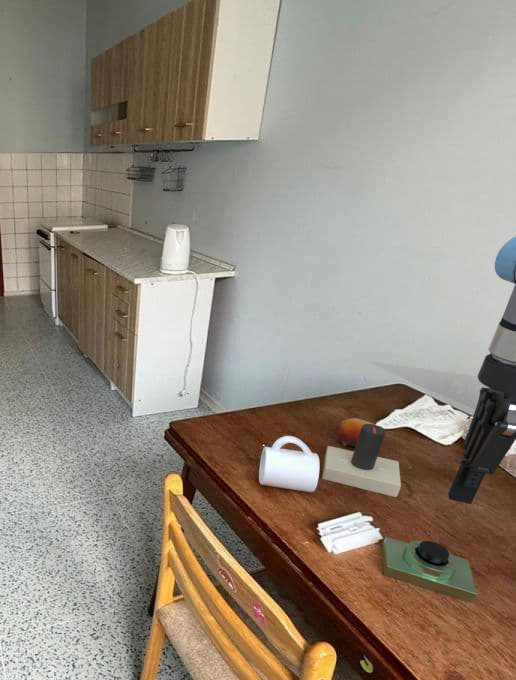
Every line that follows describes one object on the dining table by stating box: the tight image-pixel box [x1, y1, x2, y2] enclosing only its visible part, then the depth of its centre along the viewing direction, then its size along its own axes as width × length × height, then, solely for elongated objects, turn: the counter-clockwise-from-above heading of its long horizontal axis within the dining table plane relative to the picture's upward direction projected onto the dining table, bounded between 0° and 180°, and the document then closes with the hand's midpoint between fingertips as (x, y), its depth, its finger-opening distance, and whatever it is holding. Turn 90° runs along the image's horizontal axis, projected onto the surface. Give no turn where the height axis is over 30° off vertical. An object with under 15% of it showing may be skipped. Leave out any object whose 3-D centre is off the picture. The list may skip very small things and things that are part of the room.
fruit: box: [338, 417, 374, 448], centre depth 114 cm, size 8×8×8 cm
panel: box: [321, 445, 402, 498], centre depth 104 cm, size 14×10×3 cm
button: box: [417, 540, 450, 566], centre depth 78 cm, size 4×4×2 cm
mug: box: [258, 435, 321, 493], centre depth 100 cm, size 8×10×12 cm
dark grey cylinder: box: [351, 423, 387, 470], centre depth 101 cm, size 4×4×9 cm
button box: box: [381, 536, 478, 604], centre depth 79 cm, size 12×8×4 cm, turn 61°
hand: (459, 498), depth 74 cm, fingers closed
